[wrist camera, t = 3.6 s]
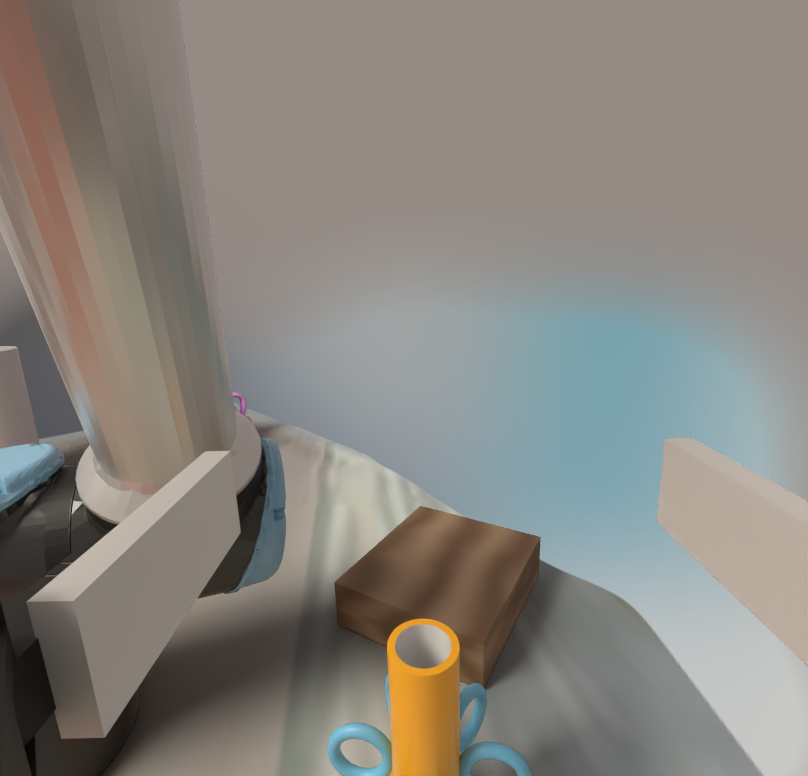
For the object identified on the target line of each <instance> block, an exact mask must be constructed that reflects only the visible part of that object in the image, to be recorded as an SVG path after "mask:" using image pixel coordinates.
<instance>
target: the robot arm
mask: <svg viewBox="0 0 808 776" xmlns="http://www.w3.org/2000/svg"><path fill="white" fill-rule="evenodd" d="M0 231H1V233H2V236H3V238H4V241H5V243H6V245H7V248H8V250H9V252H10V255H11V257H12V260H13V262H14V264H15V267H16V269H17V272H18V274H19V276H20V279H21V281H22V284H23V286H24V288H25V291H26V293H27V295H28V298H29V300H30V303H31V305H32V307H33V310H34V312H35V315H36V317H37V319H38V322H39V324H40V327H41V329H42V331H43V334H44V336H45V339H46V341H47V343H48V346H49V348H50V350H51V353H52V355H53V358H54V360H55V362H56V365H57V367H58V370H59V372H60V374H61V377H62V379H63V382H64V384H65V386H66V389H67V391H68V393H69V396H70V398H71V401H72V403H73V405H74V408H75V410H76V412H77V415H78V417H79V420H80V422H81V425H82V427H83V429H84V432H85V434H86V437H87V439H88V441H89V444H90V445H89V446H88V448H87V449H86V451H85V452H84V454H83V456H82V458H81V459H80V462H79V464H74V465H65V464H64V462H65V461H64V460H65V458H64V455H63V454H61V453H60V451H59V450H58V448H57V447H55V446H53V445H50V444H45V443H44V444H41V445H39V444H25V445H17V446H12V447H7V448H2V449H0V776H99V775H100V774H101V773H102V772H103V771H104V770H105V768H106V767H107V766H108V765H109V764H110V762H111V761H112V760H113V758H114V757H115V756H116V754H117V753H118V752H119V750H120V749H121V747H122V746H123V744H124V742H125V741H126V739H127V737H128V735H129V733H130V731H131V729H132V727H133V725H134V722H135V719H136V716H137V712H138V707H139V693H138V687H139V685H140V684H141V682H142V681H143V679H144V678H145V676H146V675H147V673H148V672H149V670H150V669H151V667H152V666H153V664H154V663H155V661H156V660H157V658H158V657H159V655H160V654H161V652H162V651H163V649H164V648H165V646H166V645H167V643H168V642H169V640H170V639H171V637H172V636H173V634H174V633H175V631H176V630H177V628H178V627H179V625H180V624H181V622H182V620H183V619H184V617H185V616H186V614H187V613H188V611H189V610H190V608H191V607H192V605H193V604H194V602H195V601H196V599H199V598H203V597H207V596H212V595H216V594H221V593H225V594H229V593H234V592H236V591H238V590H239V589H240V588H242V587H246V586H249V585H252V584H256V583H259V582H262V581H265V580H267V579H269V578H270V577H271V576H273V575H274V574H275V572H276V571H277V570H278V568H279V566H280V564H281V561H282V557H283V553H284V546H285V535H286V517H285V512H284V510H285V499H286V494H285V480H284V471H283V464H282V459H281V455H280V450H279V447H278V445H277V443H276V442H275V441H274V440H272V439H270V438H263V437H260V436H259V434H258V432H257V430H256V428H255V426H254V425H253V423H252V422H251V421H250V420H249V419H248V418H246V417H245V416H244V415H242V414H241V413H239V412H238V411H236V410H235V408H234V401H233V394H232V387H231V379H230V373H229V365H228V358H227V350H226V344H225V336H224V329H223V322H222V315H221V307H220V300H219V293H218V285H217V278H216V271H215V263H214V256H213V249H212V242H211V235H210V227H209V220H208V212H207V205H206V198H205V191H204V184H203V176H202V169H201V162H200V154H199V148H198V140H197V133H196V125H195V119H194V111H193V103H192V97H191V89H190V81H189V74H188V67H187V59H186V52H185V45H184V37H183V30H182V22H181V15H180V8H179V0H0ZM657 523H659V524H660V525H661V526H662V527H663V528H664V529H665V530H666V531H667V532H668V533H669V534H670V535H671V536H672V537H673V538H674V539H675V540H676V541H677V542H678V543H679V544H681V545H682V546H683V547H684V548H685V549H686V550H687V551H688V552H689V553H690V554H691V555H692V556H693V557H694V558H695V559H696V560H697V561H698V562H699V563H700V564H701V565H703V566H704V567H705V568H706V569H707V570H708V571H709V572H710V573H711V574H712V575H713V576H714V577H715V578H716V579H717V580H718V581H719V582H720V583H721V584H722V585H724V587H726V588H727V589H728V590H729V591H730V592H731V593H732V594H733V595H734V596H735V597H736V598H737V599H738V600H739V601H740V602H741V603H742V604H743V605H744V606H745V607H747V608H748V609H749V610H750V611H751V612H752V613H753V614H754V615H755V616H756V617H757V618H758V619H759V620H760V621H761V622H762V623H763V624H764V625H765V626H766V627H767V628H768V629H770V630H771V631H772V632H773V633H774V634H775V635H776V636H777V637H778V638H779V639H780V640H781V641H782V642H783V643H784V644H785V645H786V646H787V647H789V649H791V650H792V651H793V652H794V653H795V654H796V655H797V656H798V657H799V658H800V659H801V660H802V661H803V662H804V663H805V664H807V666H808V501H806V500H804V499H802V498H801V497H799V496H797V495H795V494H793V493H792V492H790V491H788V490H786V489H784V488H782V487H780V486H779V485H777V484H775V483H773V482H771V481H770V480H768V479H766V478H764V477H762V476H760V475H759V474H757V473H755V472H753V471H751V470H749V469H747V468H745V467H744V466H742V465H740V464H738V463H736V462H735V461H733V460H731V459H729V458H727V457H725V456H724V455H722V454H720V453H718V452H716V451H714V450H713V449H711V448H709V447H707V446H705V445H703V444H701V443H700V442H698V441H696V440H694V439H692V438H666V439H665V446H664V456H663V466H662V474H661V484H660V493H659V503H658V512H657Z"/></svg>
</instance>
